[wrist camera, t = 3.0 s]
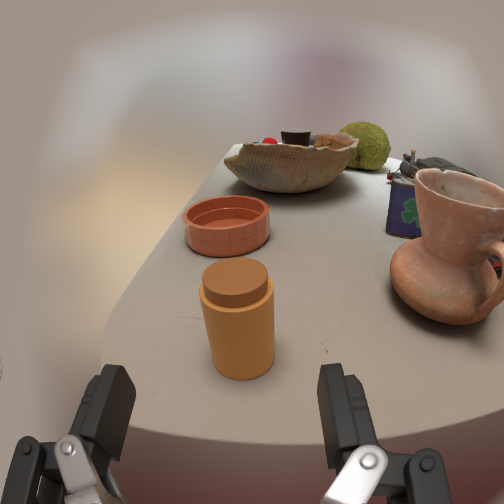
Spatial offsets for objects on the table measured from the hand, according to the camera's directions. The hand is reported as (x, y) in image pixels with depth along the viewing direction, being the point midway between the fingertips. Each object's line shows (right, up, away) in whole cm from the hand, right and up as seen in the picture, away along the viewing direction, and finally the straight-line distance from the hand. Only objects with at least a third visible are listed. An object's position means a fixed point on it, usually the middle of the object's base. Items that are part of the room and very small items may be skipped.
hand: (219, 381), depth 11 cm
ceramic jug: (+24, -1, +20) cm, 31 cm away
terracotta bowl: (-3, +8, +36) cm, 37 cm away
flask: (+27, +8, +34) cm, 44 cm away
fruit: (+33, +29, +70) cm, 82 cm away
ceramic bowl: (+10, +20, +56) cm, 60 cm away
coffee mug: (+15, +32, +76) cm, 84 cm away
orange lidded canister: (0, -4, +16) cm, 16 cm away
